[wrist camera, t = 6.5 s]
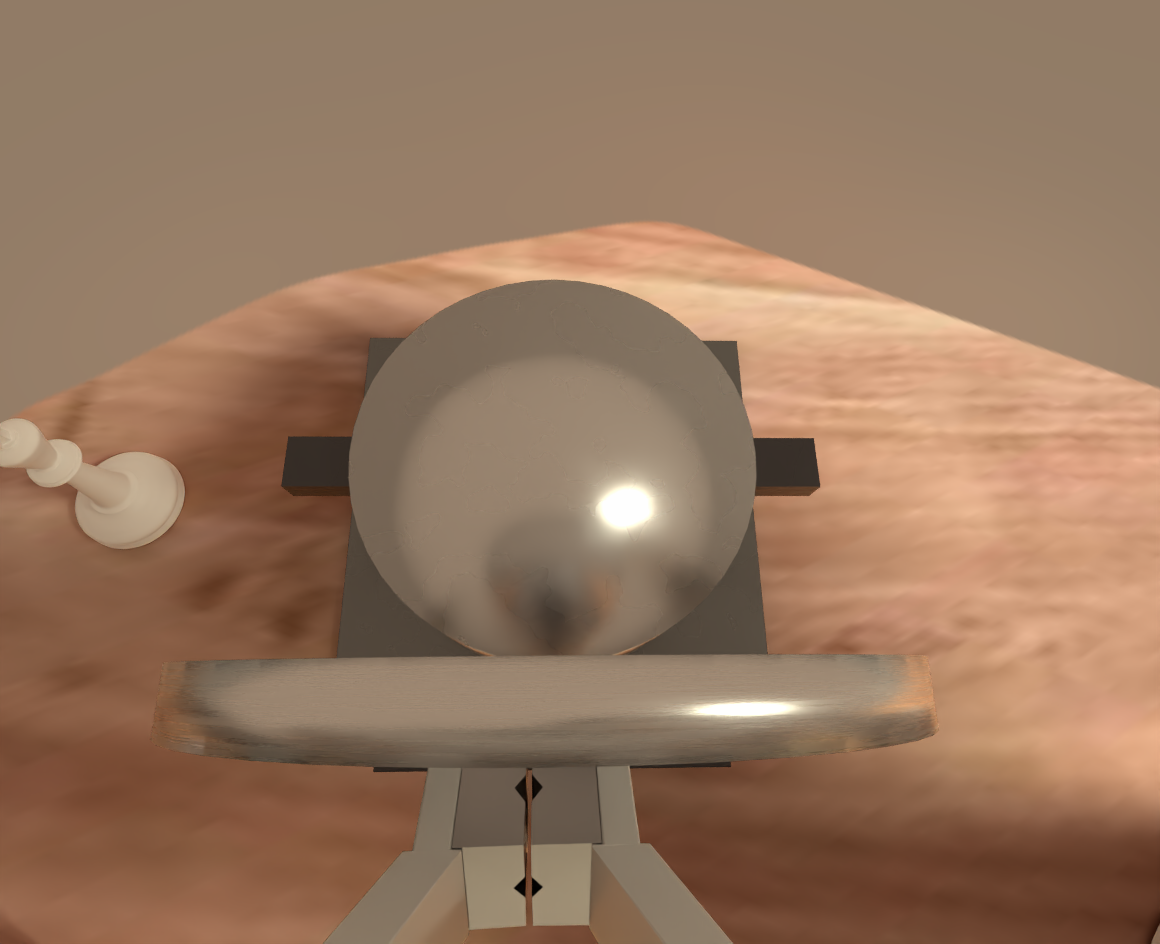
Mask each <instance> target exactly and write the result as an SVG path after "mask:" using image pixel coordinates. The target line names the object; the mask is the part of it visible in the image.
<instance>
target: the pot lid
mask: <svg viewBox="0 0 1160 944" xmlns="http://www.w3.org/2000/svg"><path fill="white" fill-rule="evenodd" d="M938 730H939V727H938V721H937V714H936V707H935V701H934V694H933V687H932V681H931V674H930V667H929V661H928V656H922V655H846V654H739V655H563V656H459V657H377V658H310V659H255V660H212V661H181V662H165V663H163V665H162V671H161V677H160V683H159V690H158V696H157V702H156V708H155V714H154V721H153V727H152V733H151V739H150V740H151V741H152V742H153V743H154V744H155V745H157V746H160V747H163V748H166V749H169V750H172V751H178V752H184V753H190V754H196V755H202V756H210V757H220V758H229V759H239V760H249V761H264V762H280V763H295V764H312V765H339V766H366V767H374V770H373V772H413V771H428V768H528V770H532V768H564V767H606V766H630V768H684V767H731V762H730V761H745V760H760V759H775V758H790V757H800V756H811V755H821V754H832V753H842V752H851V751H858V750H866V749H873V748H881V747H888V746H893V745H898V744H903V743H908V742H913V741H918V740H921V739H924V738H927V737H929V736H932V735H934V734H935V733H936V732H937V731H938Z"/></svg>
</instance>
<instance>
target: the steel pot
mask: <svg viewBox="0 0 1160 944" xmlns="http://www.w3.org/2000/svg"><path fill="white" fill-rule="evenodd" d="M281 486H282V487H283V488H284V489H285V490H287V491H288V492H289V493H290V494H292V495H293V496H350V497H351V504H352V517H351V526H350V536H349V545H348V555H347V564H346V574H345V583H344V593H343V602H342V612H341V621H340V631H339V640H338V650H337V658H377V657H459V656H563V655H739V654H768V653H767V643H766V633H765V623H764V613H763V603H762V593H761V583H760V573H759V563H758V552H757V542H756V532H755V522H754V512H753V504H754V496H809V495H811V494H812V493H813V492H814V491H816V490H817V489H818V488H819V487H820V481H819V474H818V467H817V459H816V452H815V444H814V438H753V435H752V429H751V426H750V423H749V420H748V416H747V413H746V410H745V407H744V404H743V401H742V391H741V381H740V371H739V361H738V350H737V341H701V340H700V339H699V338H698V337H697V336H696V335H695V334H694V333H693V332H692V331H691V330H689V329H688V328H687V327H686V326H684V325H683V324H682V323H680V322H679V321H678V320H676V319H675V318H674V317H672V316H671V315H670V314H668V313H666V312H664V311H663V310H661V309H659V308H658V307H656V306H654V305H652V304H651V303H649V302H647V301H644V300H642V299H640V298H637V297H635V296H633V295H630V294H628V293H626V292H622V291H619V290H616V289H612V288H609V287H606V286H602V285H596V284H591V283H585V282H580V281H566V280H539V281H527V282H520V283H514V284H508V285H504V286H500V287H496V288H493V289H489V290H486V291H482V292H480V293H477V294H475V295H472V296H470V297H468V298H465V299H463V300H460V301H458V302H457V303H455V304H453V305H451V306H449V307H447V308H446V309H444V310H442V311H440V312H439V313H437V314H436V315H434V316H433V317H432V318H430V319H429V320H427V321H426V322H424V323H423V324H422V325H420V326H419V327H418V328H417V329H416V330H415V331H414V332H412V333H411V334H410V335H409V336H408V337H407V338H370V345H369V355H368V364H367V374H366V383H365V393H364V400H363V402H362V404H361V407H360V410H359V413H358V416H357V419H356V422H355V425H354V429H353V435H352V437H288V443H287V450H286V457H285V464H284V471H283V478H282V485H281Z"/></svg>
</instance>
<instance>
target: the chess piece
mask: <svg viewBox="0 0 1160 944" xmlns="http://www.w3.org/2000/svg"><path fill="white" fill-rule="evenodd" d="M0 467H5V468H26V471H27V474H28V476H29V477H30V478H31V479H32V481H33V482H34V483H36V484H37V485H39V486H42V487H57V486H60V485H63V484H65V483H68V484H69V485H71V486H72V487H74V488H75V489H77V490H78V493H77V496H76V502H75V513H76V518H77V521H78V523H79V525H80V527H81V528H82V530H83V531H84V532H85V533H86V534H87V535H88V536H89V537H91V538H92V539H94V540H96V541H97V542H99V543H100V544H102V545H104V546H107V547H110V548H115V549H131V548H136V547H140V546H143V545H146V544H148V543H150V542H152V541H154V540H155V539H157V538H159V537H160V536H161V535H163V534H164V533H165V532H166V531H167V530H168V529H169V528H170V527H171V526H172V525H173V523H174V522H175V521H176V519H177V518H178V516H179V514H180V512H181V509H182V507H183V503H184V498H185V487H184V482H183V479H182V476H181V474H180V473H179V471H178V470H177V468H176V467H175V466H174V465H173V464H172V463H170V462H169V461H167V460H166V459H164V458H161V457H159V456H155V455H153V454H150V453H145V452H127V453H122V454H118V455H115V456H113V457H111V458H109V459H107V460H105V461H103V462H102V463H100V464H99V465H98V466H94V465H90V464H87V463H84V462H82V453H81V450H80V448H79V447H78V446H77V445H76V444H75V443H73V442H71V441H68V440H62V439H53V440H47V439H46V438H45V437H44V435H43V433H42V432H41V431H40V429H39V428H38V427H37V426H36V425H35V424H34V423H32V422H31V421H29V420H26V419H21V418H14V419H9V420H5V421H3V422H1V423H0Z"/></svg>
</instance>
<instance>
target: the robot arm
mask: <svg viewBox="0 0 1160 944" xmlns="http://www.w3.org/2000/svg"><path fill="white" fill-rule="evenodd" d="M527 787H528V768H428V771H427V776H426V781H425V787H424V792H423V797H422V802H421V808H420V813H419V818H418V823H417V828H416V834H415V839H414V844H413V849H412V851H402V853H401V854H400V855H399V856H398V857H397V858H396V859H395V861H394V862H393V863H392V864H391V865H390V866H389V868H388V869H387V870H386V871H385V872H384V873H383V875H382V876H381V877H380V878H379V879H378V880H377V881H376V883H375V884H374V885H373V886H372V887H371V888H370V890H369V891H368V892H367V893H366V894H365V895H364V897H363V898H362V899H361V900H360V901H359V902H358V903H357V905H356V906H355V907H354V908H353V909H352V910H351V912H350V913H349V914H348V915H347V916H346V917H345V919H344V920H343V921H342V922H341V923H340V924H339V926H338V927H337V928H336V929H335V930H334V931H333V932H332V934H331V935H330V936H329V937H328V938H327V939H326V941H325V942H324V943H323V944H463V943H464V942H465V940H466V938H467V937H468V935H469V930H475V929H489V928H504V927H518V926H526V910H527V854H528V823H529V801H528V788H527ZM531 877H532V912H533V926H554V925H589V929H590V930H591V932H592V934H593V936H594V937H595V939H596V941H597V942H598V944H733V942H732V941H731V940H730V939H729V938H728V936H727V935H726V934H725V933H724V932H723V930H722V929H721V928H720V927H719V926H718V924H717V923H716V922H715V921H714V920H713V918H712V917H711V916H710V915H709V914H708V912H707V911H706V910H705V909H704V908H703V906H702V905H701V904H700V903H699V902H698V900H697V899H696V898H695V897H694V896H693V894H692V893H691V892H690V891H689V890H688V888H687V887H686V886H685V885H684V884H683V882H682V881H681V880H680V879H679V878H678V876H677V875H676V874H675V873H674V872H673V870H672V869H671V868H670V867H669V866H668V864H667V863H666V862H665V861H664V860H663V858H662V857H661V856H660V855H659V854H658V852H657V851H656V850H655V849H654V848H653V846H652V845H651V844H650V843H640V838H639V830H638V823H637V816H636V809H635V802H634V795H633V787H632V780H631V773H630V766H606V767H564V768H532V810H531ZM1151 944H1160V925H1159V927H1158V928H1157V931H1156V933H1155V935H1154V938H1153V940H1152V943H1151Z"/></svg>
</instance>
